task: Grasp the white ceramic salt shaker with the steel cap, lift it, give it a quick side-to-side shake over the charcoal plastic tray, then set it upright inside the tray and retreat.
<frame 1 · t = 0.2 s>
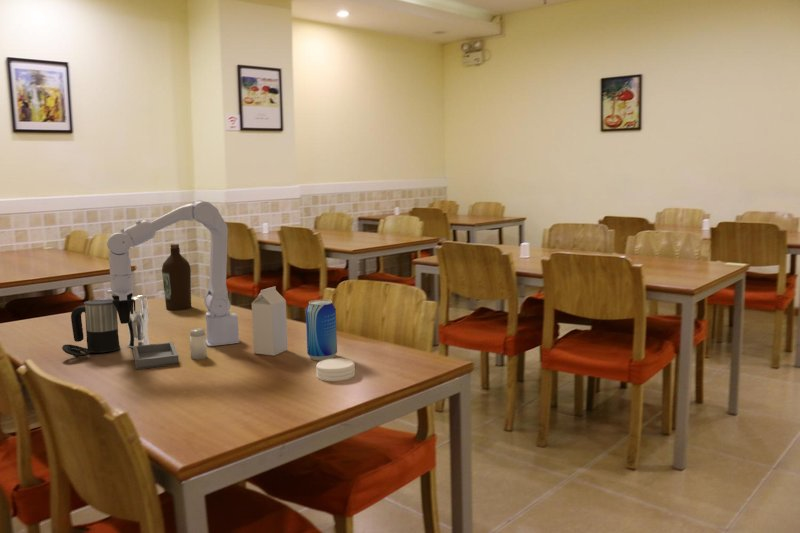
hand: (124, 320, 195), 10 cm above the table, fingers open, 7 cm apart
beer glass: (139, 346, 206), on the table
olive oil: (178, 308, 262), on the table
milk frother: (92, 353, 197), on the table
white round container: (335, 377, 173), on the table
milk carton: (271, 352, 196), on the table
beer can: (322, 357, 190), on the table
tray: (155, 359, 190), on the table
salt shaker: (198, 357, 192), on the table
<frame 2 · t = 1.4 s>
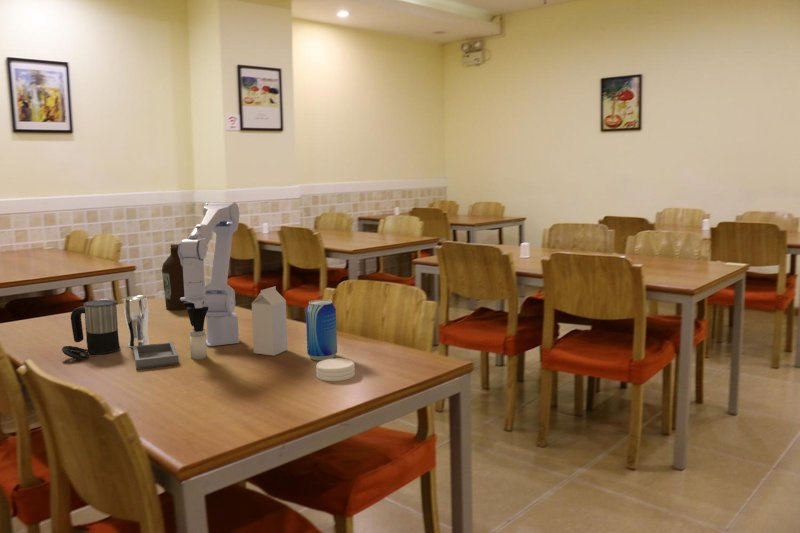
hand: (197, 328, 191), 8 cm above the table, fingers open, 7 cm apart
nothing on the table moved.
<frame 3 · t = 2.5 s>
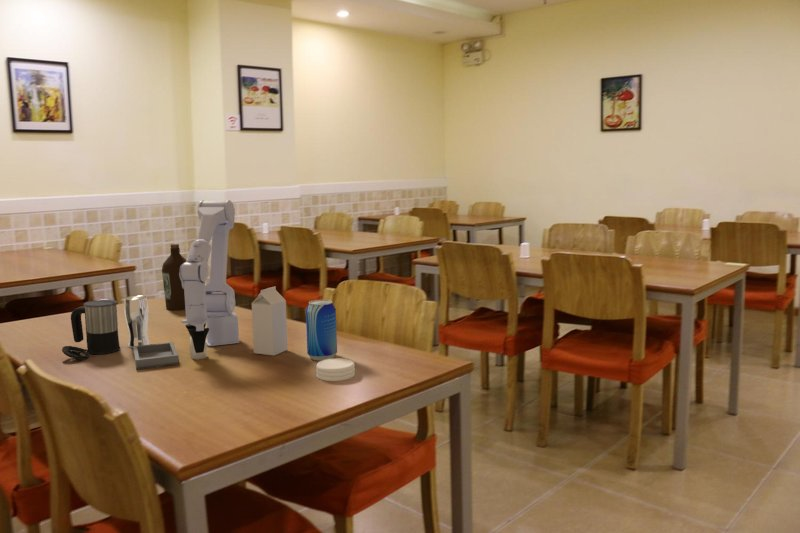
hand: (198, 350, 192), 2 cm above the table, fingers closed on salt shaker, 4 cm apart
salt shaker: (198, 357, 192), on the table, touching gripper
everything else where it was.
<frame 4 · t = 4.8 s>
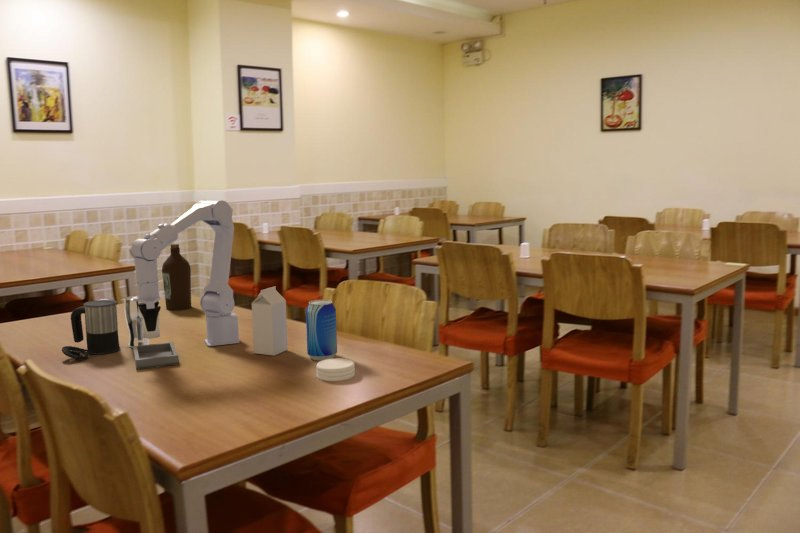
hand: (150, 329, 188), 9 cm above the table, fingers closed on salt shaker, 4 cm apart
salt shaker: (151, 336, 189), point 7 cm above the table, touching gripper
everything else where it was.
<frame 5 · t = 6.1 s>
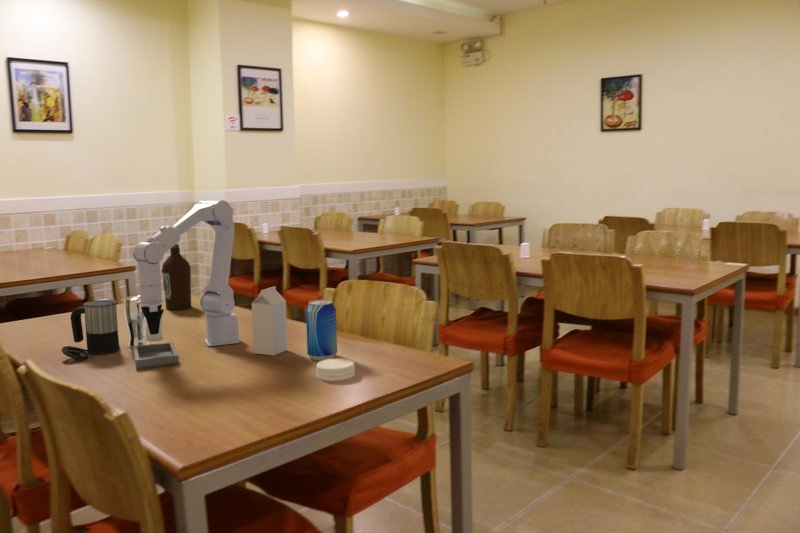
hand: (153, 332, 189), 8 cm above the table, fingers closed on salt shaker, 4 cm apart
salt shaker: (154, 339, 189), point 6 cm above the table, touching gripper
everything else where it was.
when the fingers open (4 cm above the table, at t = 7.2 s): salt shaker drops 1 cm, resting on tray.
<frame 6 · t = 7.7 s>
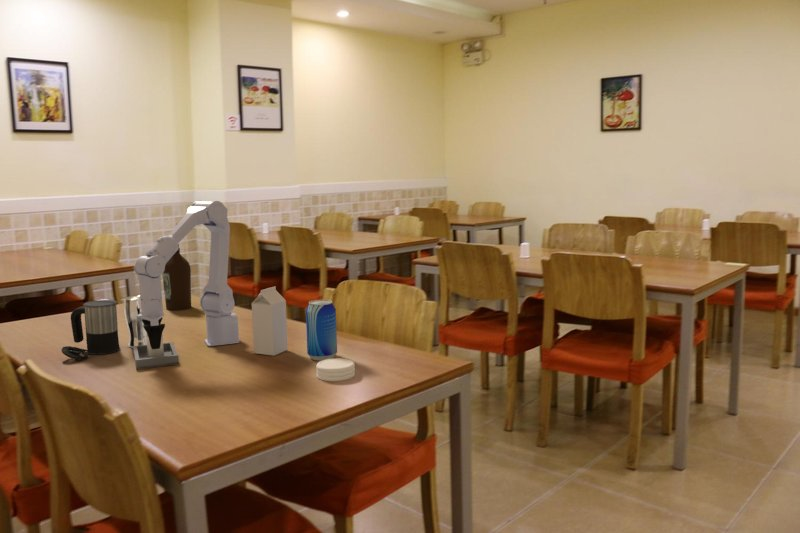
hand: (154, 345, 189), 4 cm above the table, fingers open, 7 cm apart
salt shaker: (155, 357, 190), point 1 cm above the table, touching tray
everything else where it was.
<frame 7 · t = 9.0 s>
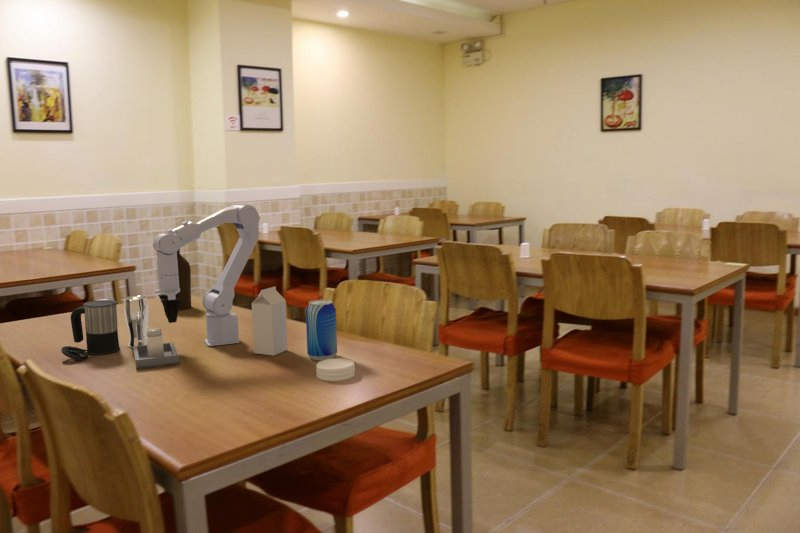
hand: (171, 319, 198), 9 cm above the table, fingers open, 7 cm apart
nothing on the table moved.
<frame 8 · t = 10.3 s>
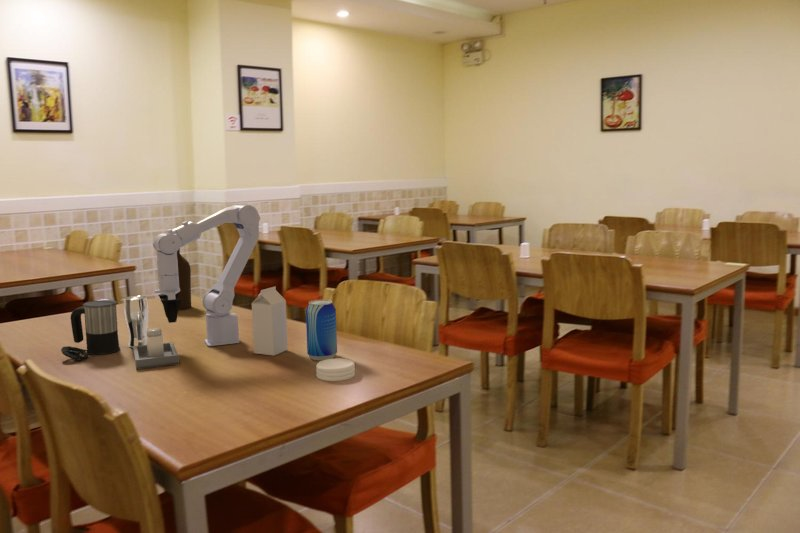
hand: (171, 319, 198), 9 cm above the table, fingers open, 7 cm apart
at the end: salt shaker inside the target area on the tray (0.1 cm from its centre), point 0.6 cm above the tray's base; salt shaker tilted 0°; the gripper is holding nothing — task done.
